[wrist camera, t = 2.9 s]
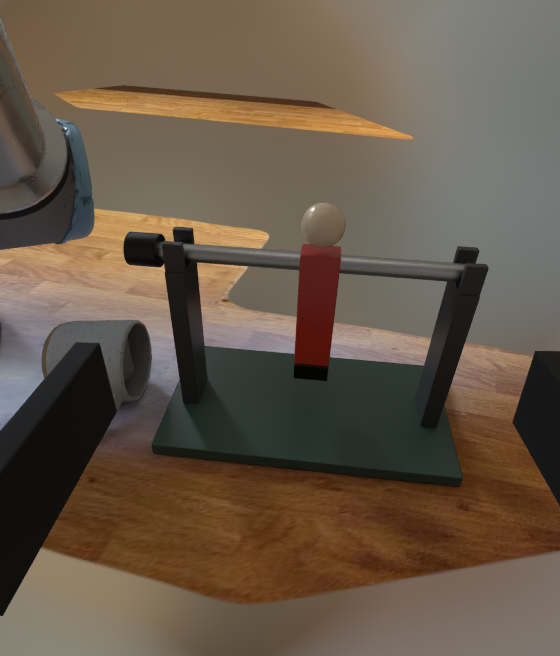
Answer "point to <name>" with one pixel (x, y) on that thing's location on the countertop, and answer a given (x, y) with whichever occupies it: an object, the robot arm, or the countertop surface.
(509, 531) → the countertop surface
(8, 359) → the countertop surface
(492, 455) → the countertop surface
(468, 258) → the foosball frame
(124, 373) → the ceramic mug
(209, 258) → the foosball rod
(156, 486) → the countertop surface
